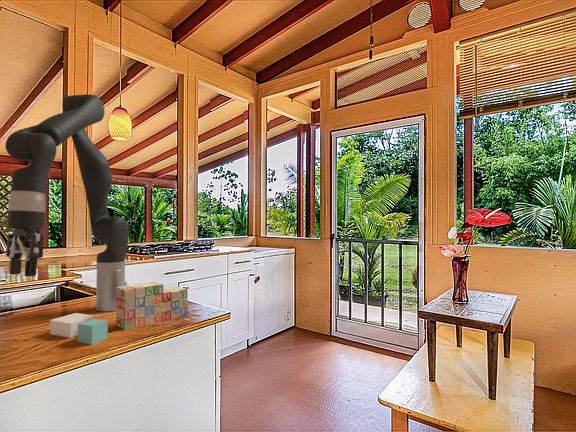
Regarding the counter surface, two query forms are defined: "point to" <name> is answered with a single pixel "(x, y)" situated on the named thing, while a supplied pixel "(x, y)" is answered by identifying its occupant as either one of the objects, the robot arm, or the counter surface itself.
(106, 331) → the teal cube
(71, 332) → the white square block
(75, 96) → the robot arm
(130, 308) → the stack of blocks
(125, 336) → the counter surface
